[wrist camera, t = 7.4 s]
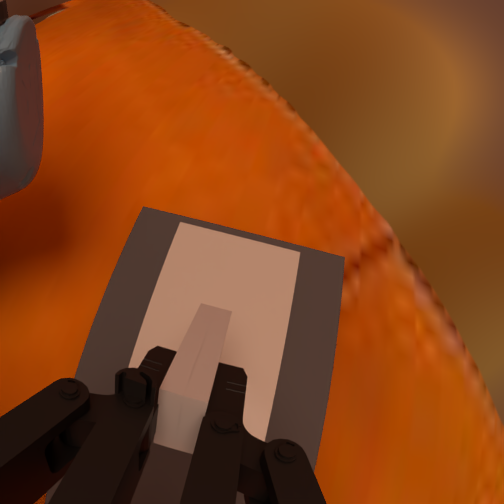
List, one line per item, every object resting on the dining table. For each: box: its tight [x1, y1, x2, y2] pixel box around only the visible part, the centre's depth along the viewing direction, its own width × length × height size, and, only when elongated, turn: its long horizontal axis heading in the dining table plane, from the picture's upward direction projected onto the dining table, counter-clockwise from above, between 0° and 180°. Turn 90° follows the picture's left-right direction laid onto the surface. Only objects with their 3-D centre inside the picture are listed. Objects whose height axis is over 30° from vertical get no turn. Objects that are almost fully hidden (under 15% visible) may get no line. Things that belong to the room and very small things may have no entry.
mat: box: [45, 206, 345, 504], centre depth 23 cm, size 30×20×1 cm, turn 168°
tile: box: [128, 222, 300, 442], centre depth 24 cm, size 3×10×15 cm
